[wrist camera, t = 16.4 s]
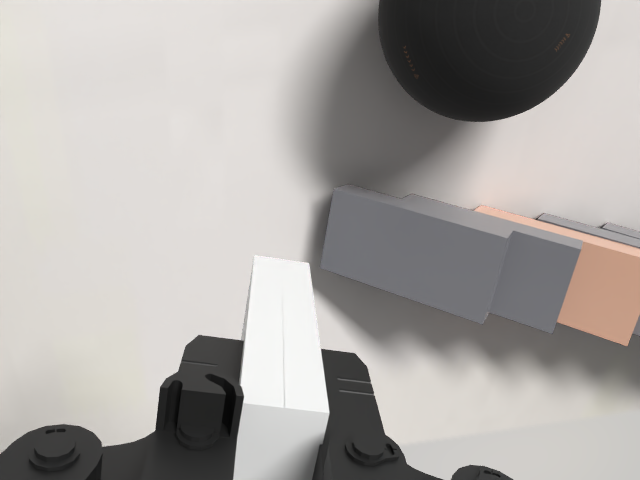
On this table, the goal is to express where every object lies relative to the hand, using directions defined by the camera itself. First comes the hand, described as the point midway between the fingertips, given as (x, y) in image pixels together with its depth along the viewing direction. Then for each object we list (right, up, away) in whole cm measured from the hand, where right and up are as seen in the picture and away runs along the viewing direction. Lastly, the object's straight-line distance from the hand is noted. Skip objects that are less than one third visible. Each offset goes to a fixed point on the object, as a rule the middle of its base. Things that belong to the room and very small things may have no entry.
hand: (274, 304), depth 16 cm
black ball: (+9, +14, +16) cm, 23 cm away
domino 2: (+6, +2, +19) cm, 20 cm away
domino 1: (+2, +3, +19) cm, 19 cm away
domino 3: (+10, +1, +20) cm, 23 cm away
